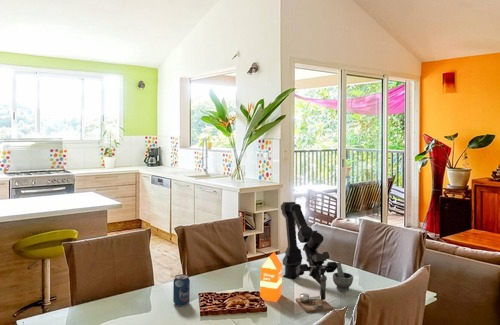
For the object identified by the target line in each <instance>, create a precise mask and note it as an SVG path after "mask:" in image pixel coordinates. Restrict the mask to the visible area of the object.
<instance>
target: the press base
mask: <svg viewBox="0 0 500 325" xmlns="http://www.w3.org/2000/svg"><path fill="white" fill-rule="evenodd" d="M309 298H320V295H318V296H309ZM295 302H296V304H298V306H299V307H300V308H301V309H303V311H304V312H306V313H307V314H312V313H321V312H323V313H324V312H330V311H331V310H332V311H334V307H333V305H331V304H330V303H329V302H328V301H327V300H326V299H325V300H323V302H322V300H321V299H317V300H316V301H315V300H313V302H307V303H303V302H300V297H299V298H295Z"/></svg>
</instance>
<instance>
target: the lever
mask: <svg viewBox="0 0 500 325" xmlns="http://www.w3.org/2000/svg"><path fill="white" fill-rule="evenodd" d="M327 280H328V278H327V275H325V274H324V275H321V276H320V284H319V296H320V298H309V297H310V294H308V293H299V298H300V302H303V303H307V302H313V300H315V301H316V300H317V299H321V300H322V302H323V300H325V301H326V298H327V297H326V295H327V294H326V291H327Z"/></svg>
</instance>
